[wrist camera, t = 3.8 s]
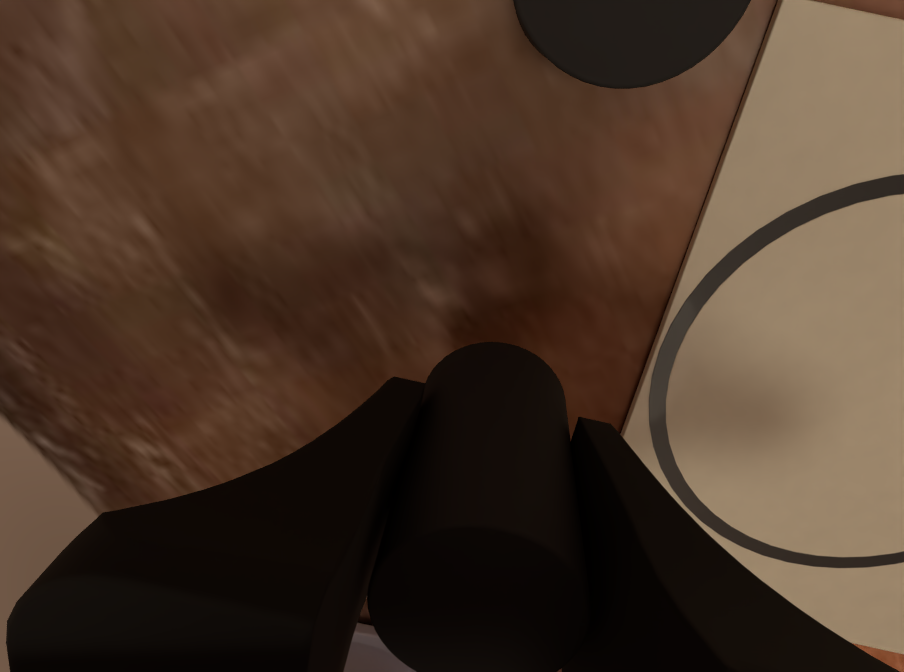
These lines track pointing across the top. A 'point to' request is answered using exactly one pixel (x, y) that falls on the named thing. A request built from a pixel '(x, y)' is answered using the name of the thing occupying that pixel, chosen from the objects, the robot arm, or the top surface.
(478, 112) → the top surface
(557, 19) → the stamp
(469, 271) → the top surface
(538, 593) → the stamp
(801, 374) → the sheet
